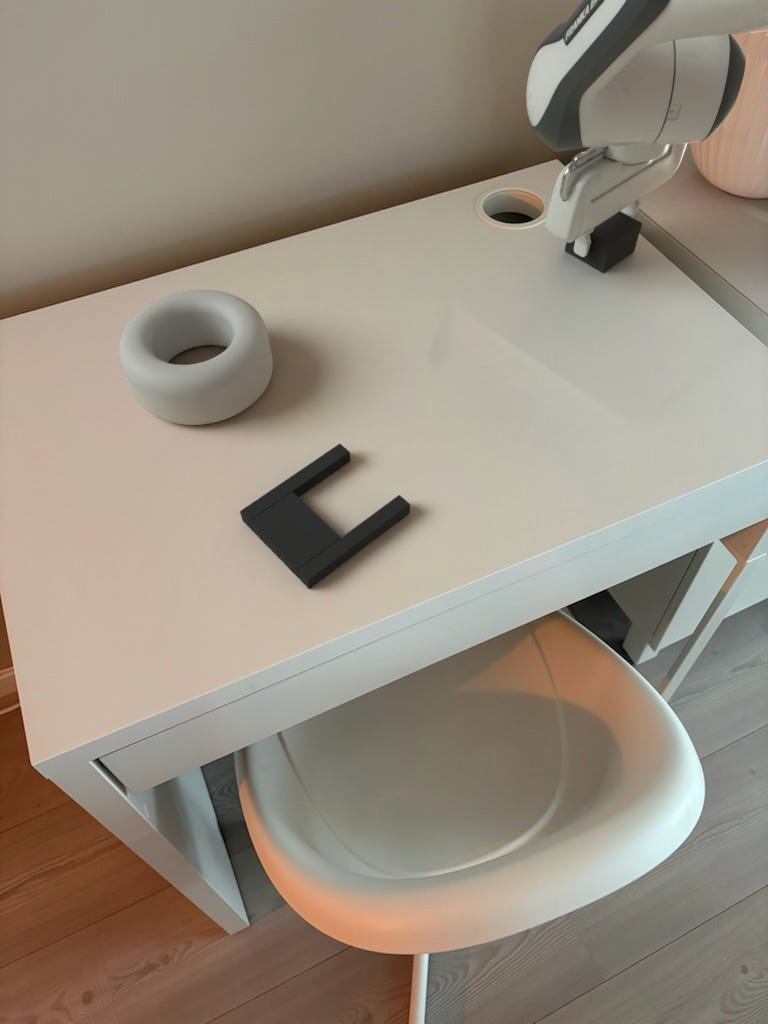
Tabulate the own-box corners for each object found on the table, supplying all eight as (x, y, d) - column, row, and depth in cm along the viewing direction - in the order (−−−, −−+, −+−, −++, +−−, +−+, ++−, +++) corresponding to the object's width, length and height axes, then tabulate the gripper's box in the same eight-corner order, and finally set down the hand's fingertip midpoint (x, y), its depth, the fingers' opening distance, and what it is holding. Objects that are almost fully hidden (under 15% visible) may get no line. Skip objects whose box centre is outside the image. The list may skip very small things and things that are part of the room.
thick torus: (109, 415, 78) (86, 368, 72) (170, 321, 86) (154, 273, 81) (244, 442, 75) (231, 395, 70) (293, 343, 83) (286, 294, 78)
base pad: (410, 513, 70) (410, 503, 68) (309, 589, 65) (307, 581, 64) (341, 452, 74) (339, 443, 73) (242, 520, 70) (239, 511, 68)
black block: (634, 252, 92) (642, 223, 89) (603, 273, 90) (610, 244, 86) (595, 231, 94) (602, 201, 91) (564, 251, 92) (570, 222, 89)
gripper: (591, 174, 74) (566, 289, 85) (711, 102, 82) (673, 217, 93) (542, 150, 77) (524, 264, 88) (662, 82, 85) (632, 196, 96)
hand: (602, 239), depth 91 cm, fingers closed on black block, 6 cm apart
